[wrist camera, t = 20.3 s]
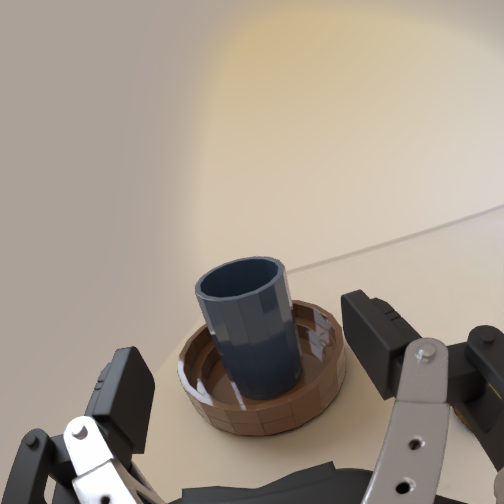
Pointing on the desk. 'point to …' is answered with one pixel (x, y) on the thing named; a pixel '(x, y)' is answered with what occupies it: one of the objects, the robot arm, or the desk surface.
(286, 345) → the cup
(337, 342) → the bowl
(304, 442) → the desk surface
